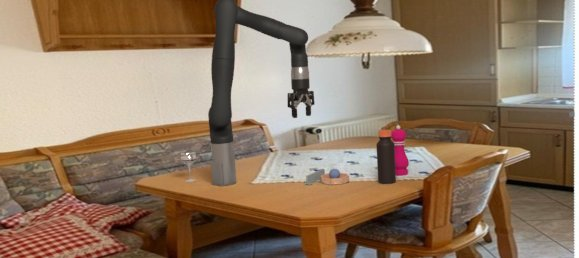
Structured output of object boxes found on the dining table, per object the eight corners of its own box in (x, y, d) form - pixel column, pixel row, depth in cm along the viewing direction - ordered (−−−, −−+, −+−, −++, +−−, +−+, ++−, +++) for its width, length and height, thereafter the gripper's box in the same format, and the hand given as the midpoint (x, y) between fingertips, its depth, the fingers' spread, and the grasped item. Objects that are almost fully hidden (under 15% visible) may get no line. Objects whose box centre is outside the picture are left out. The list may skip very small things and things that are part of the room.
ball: (335, 181, 223) (335, 170, 222) (326, 180, 226) (326, 169, 225) (342, 179, 226) (342, 168, 225) (333, 178, 229) (333, 167, 228)
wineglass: (189, 178, 251) (187, 151, 249) (201, 179, 247) (199, 152, 246) (179, 181, 245) (176, 154, 244) (191, 182, 242) (188, 154, 240)
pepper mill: (396, 171, 237) (394, 124, 235) (412, 172, 233) (410, 124, 230) (387, 175, 232) (385, 126, 229) (403, 176, 227) (401, 126, 225)
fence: (310, 184, 223) (310, 176, 223) (304, 184, 225) (303, 175, 224) (327, 177, 235) (326, 169, 234) (320, 177, 236) (320, 168, 236)
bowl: (337, 185, 218) (337, 179, 218) (315, 183, 225) (315, 177, 225) (354, 180, 226) (354, 174, 226) (332, 177, 234) (331, 171, 233)
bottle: (396, 180, 222) (394, 129, 219) (395, 184, 215) (392, 131, 213) (379, 180, 223) (376, 129, 221) (377, 184, 217) (374, 132, 215)
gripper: (295, 78, 228) (297, 118, 230) (318, 76, 239) (319, 115, 241) (281, 78, 234) (283, 118, 235) (304, 77, 244) (306, 114, 246)
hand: (301, 116), depth 238 cm, fingers open, 8 cm apart
